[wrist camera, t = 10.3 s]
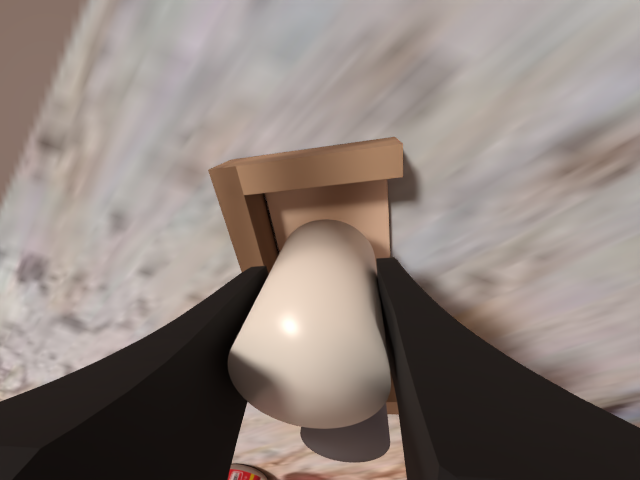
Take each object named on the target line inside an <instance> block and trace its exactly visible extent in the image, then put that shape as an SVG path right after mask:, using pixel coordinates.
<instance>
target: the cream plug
mask: <svg viewBox="0 0 640 480" xmlns="http://www.w3.org/2000/svg"><path fill="white" fill-rule="evenodd" d="M228 372H229V375H230V378H231V380H232V383H233V385H234V386H235V388H236V389H237V391H238V392H239V393H240V394H241V395H242V397H243V398H244V399H245V400H247V401H248V402H249V403H250V404H251V405H252V406H254V407H255V408H257V409H258V410H260V411H261V412H263V413H265V414H267V415H269V416H270V417H273V418H275V419H277V420H280V421H283V422H286V423H289V424H292V425H296V426H301V427H307V428H318V429H330V428H340V427H346V426H350V425H354V424H357V423H360V422H362V421H364V420H366V419H368V418H370V417H371V416H373V415H374V414H375V413H377V412H378V411H379V410H380V409H381V408H382V407H383V405H384V404H385V402H386V401H387V399H388V397H389V394H390V389H391V377H390V369H389V361H388V354H387V346H386V338H385V331H384V323H383V315H382V308H381V300H380V295H379V287H378V279H377V269H376V261H375V255H374V251H373V248H372V246H371V244H370V242H369V241H368V239H367V238H366V237H365V236H364V235H363V234H362V233H361V232H360V231H359V230H357V229H356V228H355V227H353V226H351V225H349V224H347V223H344V222H341V221H337V220H330V219H322V220H315V221H311V222H308V223H305V224H303V225H302V226H300V227H298V228H297V229H296V230H294V231H293V232H292V233H291V234H290V236H289V237H288V238H287V240H286V242H285V244H284V246H283V248H282V250H281V252H280V254H279V256H278V258H277V260H276V261H275V263H274V265H273V267H272V269H271V271H270V273H269V275H268V277H267V279H266V281H265V283H264V285H263V287H262V289H261V291H260V293H259V295H258V297H257V299H256V301H255V303H254V305H253V307H252V308H251V310H250V312H249V314H248V316H247V318H246V320H245V322H244V324H243V326H242V328H241V330H240V332H239V334H238V336H237V338H236V340H235V342H234V344H233V346H232V348H231V350H230V352H229V356H228Z"/></svg>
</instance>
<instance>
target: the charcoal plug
mask: <svg viewBox="0 0 640 480" xmlns="http://www.w3.org/2000/svg"><path fill="white" fill-rule="evenodd" d="M300 434H301V438H302V440H303V442H304V443H305V445H306V446H307V447H308V448H310V449H311V450H312V451H314V452H315V453H317V454H319V455H321V456H324V457H326V458H329V459H333V460H337V461H342V462H366V461H371V460H374V459H377V458H379V457H381V456H383V455H384V454H385V453H386V452H387V451H388V449H389V447H390V436H389V426H388V416H387V406H386V402H385V404H384V405H383V407H382V408H381V409H380V410H379V411H378V412H377V413H375V414H374V415H373V416H371V417H370V418H368V419H366V420H364V421H362V422H360V423H357V424H354V425H350V426H346V427H340V428H330V429H318V428H307V427H301V432H300Z"/></svg>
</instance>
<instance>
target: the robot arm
mask: <svg viewBox="0 0 640 480" xmlns="http://www.w3.org/2000/svg"><path fill="white" fill-rule="evenodd" d="M376 265H377V279H378V287H379V295H380V300H381V308H382V315H383V323H384V331H385V338H386V346H387V354H388V361H389V366H390V371H391V375H392V380H393V384H394V389H395V394H396V399H397V405H398V412H399V419H400V427H401V435H402V443H403V450H404V458H405V466H406V474H407V480H640V428H639V427H637V426H635V425H633V424H631V423H629V422H627V421H625V420H623V419H621V418H619V417H617V416H615V415H613V414H611V413H609V412H607V411H605V410H603V409H601V408H599V407H597V406H595V405H593V404H591V403H589V402H587V401H585V400H583V399H581V398H579V397H578V396H576V395H574V394H572V393H570V392H568V391H567V390H565V389H563V388H561V387H559V386H558V385H556V384H554V383H552V382H551V381H549V380H547V379H545V378H543V377H542V376H540V375H538V374H536V373H535V372H533V371H531V370H530V369H528V368H526V367H525V366H523V365H521V364H520V363H518V362H516V361H515V360H513V359H512V358H510V357H508V356H507V355H505V354H504V353H502V352H501V351H499V350H498V349H496V348H495V347H493V346H492V345H490V344H488V343H487V342H485V341H484V340H483V339H481V338H480V337H478V336H477V335H475V334H474V333H473V332H471V331H470V330H469V329H467V328H466V327H465V326H463V325H462V324H461V323H459V322H458V321H457V320H456V319H454V318H453V317H452V316H451V315H450V314H448V313H447V312H446V311H445V310H444V309H443V308H442V307H440V306H439V305H438V304H437V303H436V302H435V301H434V300H433V299H432V298H431V297H430V296H429V295H428V294H427V293H426V292H425V291H424V290H423V289H422V288H421V287H420V286H419V285H418V284H417V283H416V282H415V281H414V280H413V279H412V278H411V277H410V275H409V274H408V273H407V272H406V271H405V270H404V268H403V267H402V266H401V264H400V263H399V262H398V260H397V259H395V258H394V257H392V258H377V259H376ZM268 275H269V274H268V270H267V266H255V267H250V268H248V269H247V270H245V271H244V272H242V273H241V274H239V275H238V276H236V277H235V278H234V279H232V280H231V281H230V282H228V283H227V284H225V285H224V286H223V287H221V288H220V289H219V290H217V291H216V292H214V293H213V294H212V295H210V296H209V297H208V298H206V299H205V300H203V301H202V302H200V303H199V304H197V305H196V306H194V307H193V308H191V309H190V310H189V311H187V312H186V313H184V314H183V315H181V316H180V317H178V318H177V319H175V320H173V321H172V322H170V323H168V324H167V325H165V326H163V327H162V328H160V329H158V330H157V331H155V332H153V333H151V334H150V335H148V336H146V337H144V338H142V339H141V340H139V341H137V342H135V343H133V344H131V345H129V346H127V347H125V348H123V349H121V350H119V351H117V352H115V353H113V354H111V355H109V356H107V357H105V358H103V359H101V360H99V361H97V362H95V363H93V364H91V365H88V366H86V367H84V368H82V369H80V370H77V371H75V372H73V373H71V374H68V375H66V376H64V377H61V378H59V379H57V380H54V381H52V382H50V383H47V384H45V385H42V386H40V387H37V388H35V389H32V390H30V391H27V392H24V393H22V394H19V395H17V396H14V397H11V398H9V399H6V400H4V401H1V402H0V480H228V476H229V471H230V467H231V463H232V459H233V455H234V451H235V447H236V443H237V439H238V435H239V431H240V427H241V423H242V420H243V416H244V412H245V409H246V405H247V402H248V401H247V400H245V399H244V398H243V397H242V395H241V394H240V393H239V392H238V391H237V389H236V388H235V386H234V385H233V383H232V380H231V378H230V375H229V372H228V356H229V352H230V350H231V348H232V346H233V344H234V342H235V340H236V338H237V336H238V334H239V332H240V330H241V328H242V326H243V324H244V322H245V320H246V318H247V316H248V314H249V312H250V310H251V308H252V307H253V305H254V303H255V301H256V299H257V297H258V295H259V293H260V291H261V289H262V287H263V285H264V283H265V281H266V279H267V277H268Z"/></svg>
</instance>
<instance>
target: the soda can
mask: <svg viewBox="0 0 640 480" xmlns="http://www.w3.org/2000/svg"><path fill="white" fill-rule="evenodd" d="M228 480H267V477H266V476H265V475H264V474H263V473H262V472H260V471H259V470H257V469H255V468H252V467H250V466H246V465H241V464H231V467H230V471H229V476H228Z"/></svg>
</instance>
